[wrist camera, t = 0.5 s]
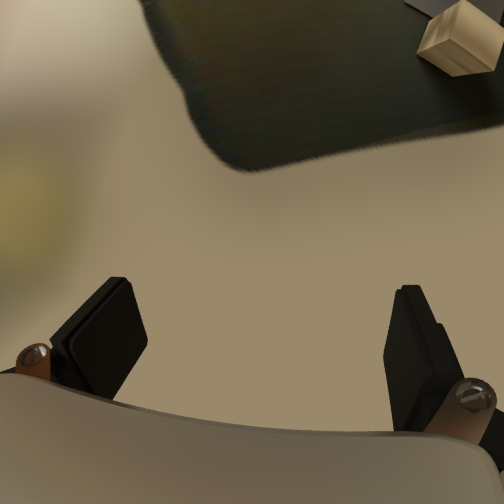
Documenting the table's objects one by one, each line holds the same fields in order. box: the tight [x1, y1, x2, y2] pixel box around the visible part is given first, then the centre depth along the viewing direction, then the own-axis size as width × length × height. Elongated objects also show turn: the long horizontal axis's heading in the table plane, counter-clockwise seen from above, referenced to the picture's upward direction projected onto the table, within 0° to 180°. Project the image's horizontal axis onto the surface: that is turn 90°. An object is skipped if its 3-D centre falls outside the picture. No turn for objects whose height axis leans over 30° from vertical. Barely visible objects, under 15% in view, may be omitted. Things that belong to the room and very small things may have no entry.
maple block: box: [416, 0, 504, 77], centre depth 22 cm, size 5×5×10 cm
